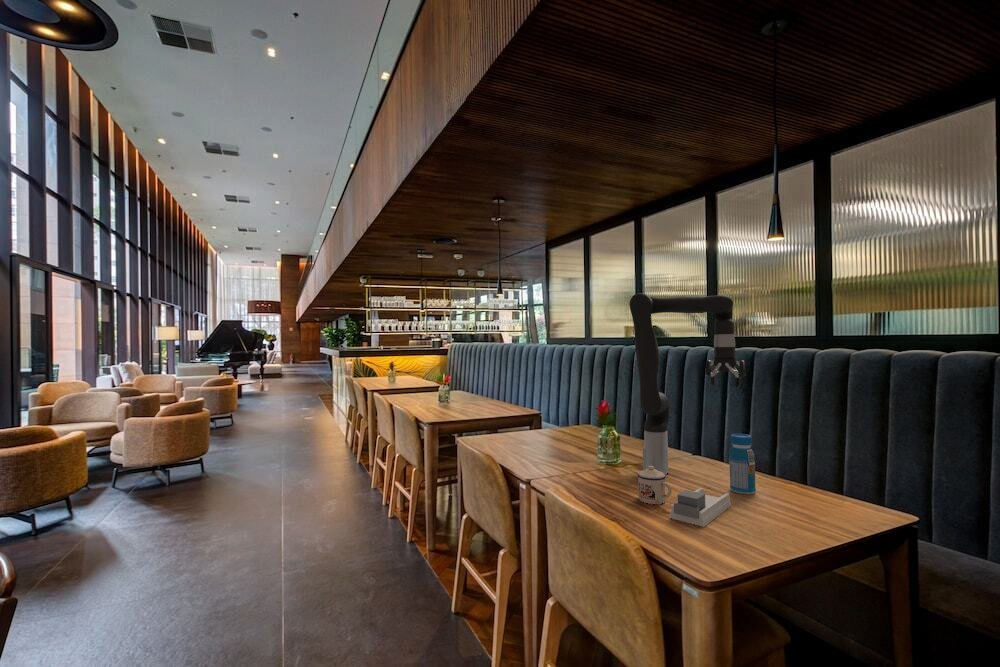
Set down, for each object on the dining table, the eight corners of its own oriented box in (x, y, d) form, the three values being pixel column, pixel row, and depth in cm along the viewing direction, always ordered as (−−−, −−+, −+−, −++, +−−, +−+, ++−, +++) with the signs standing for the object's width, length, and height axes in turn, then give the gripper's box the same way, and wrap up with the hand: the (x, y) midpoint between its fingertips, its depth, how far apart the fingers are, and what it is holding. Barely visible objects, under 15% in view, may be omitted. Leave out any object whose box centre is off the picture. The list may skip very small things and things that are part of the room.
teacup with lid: (632, 499, 156) (631, 465, 157) (648, 494, 162) (648, 461, 162) (663, 509, 146) (662, 473, 147) (679, 503, 152) (678, 468, 152)
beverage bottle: (733, 494, 160) (731, 437, 161) (727, 486, 168) (725, 432, 169) (759, 495, 158) (757, 438, 159) (752, 488, 166) (750, 433, 167)
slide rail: (669, 518, 139) (669, 502, 139) (699, 499, 155) (699, 484, 156) (703, 527, 132) (702, 510, 132) (730, 506, 148) (730, 490, 149)
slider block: (677, 511, 139) (677, 494, 139) (685, 505, 143) (685, 489, 143) (697, 516, 134) (697, 498, 134) (705, 510, 139) (705, 494, 139)
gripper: (702, 346, 183) (703, 386, 182) (740, 345, 173) (742, 388, 172) (709, 346, 188) (710, 385, 188) (747, 345, 178) (748, 386, 178)
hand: (725, 386), depth 180 cm, fingers open, 8 cm apart
